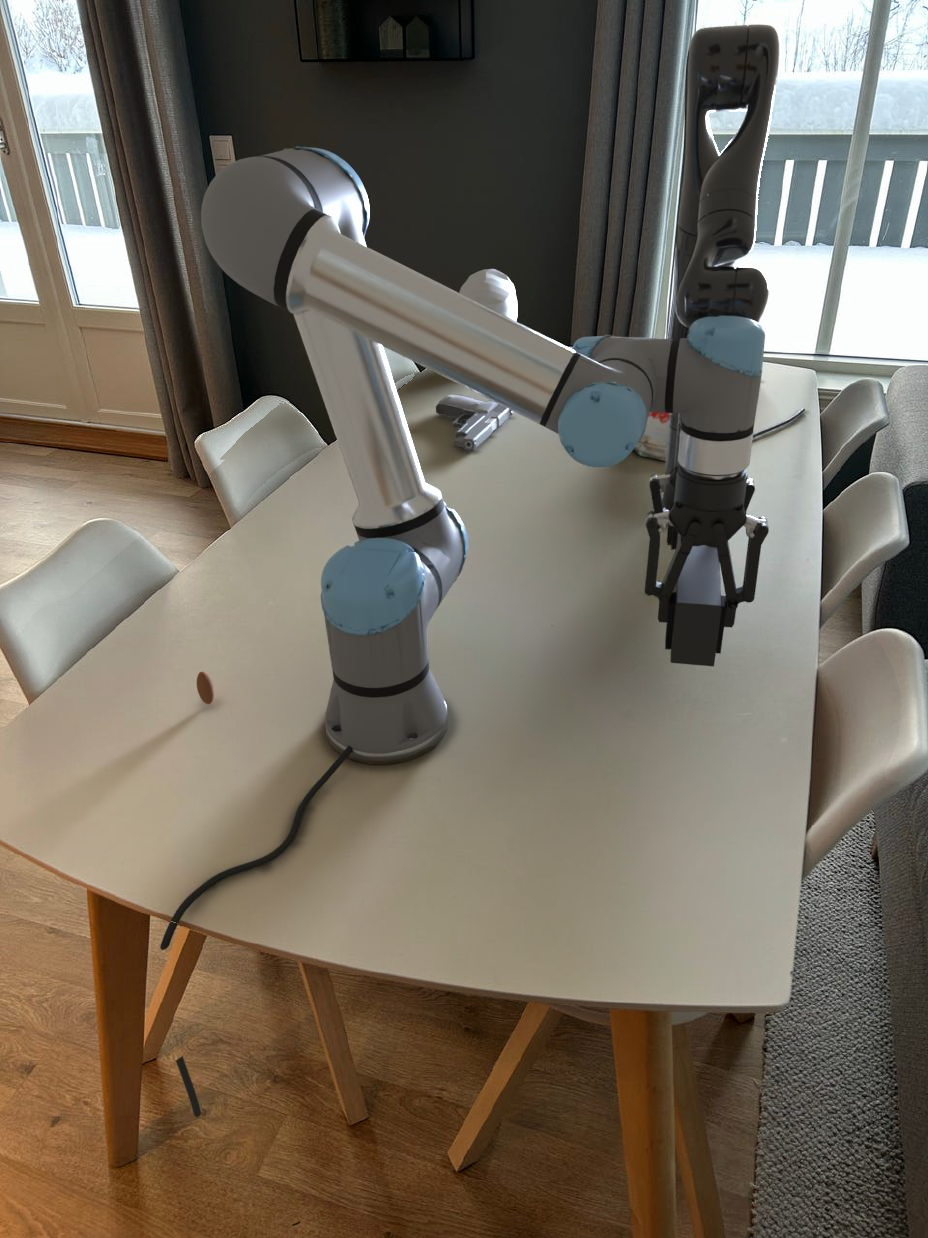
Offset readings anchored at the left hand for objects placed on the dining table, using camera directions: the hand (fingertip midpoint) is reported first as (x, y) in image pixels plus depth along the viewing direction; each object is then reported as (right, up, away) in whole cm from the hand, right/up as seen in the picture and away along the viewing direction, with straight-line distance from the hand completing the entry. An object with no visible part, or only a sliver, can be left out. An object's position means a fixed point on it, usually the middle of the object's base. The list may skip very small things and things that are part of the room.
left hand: (692, 644), depth 111 cm
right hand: (+4, +13, +15) cm, 20 cm away
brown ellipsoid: (-62, -8, +8) cm, 63 cm away
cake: (+18, +41, +81) cm, 93 cm away
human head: (-21, +72, +135) cm, 154 cm away
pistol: (-28, +46, +93) cm, 108 cm away
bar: (+2, +5, +8) cm, 10 cm away
